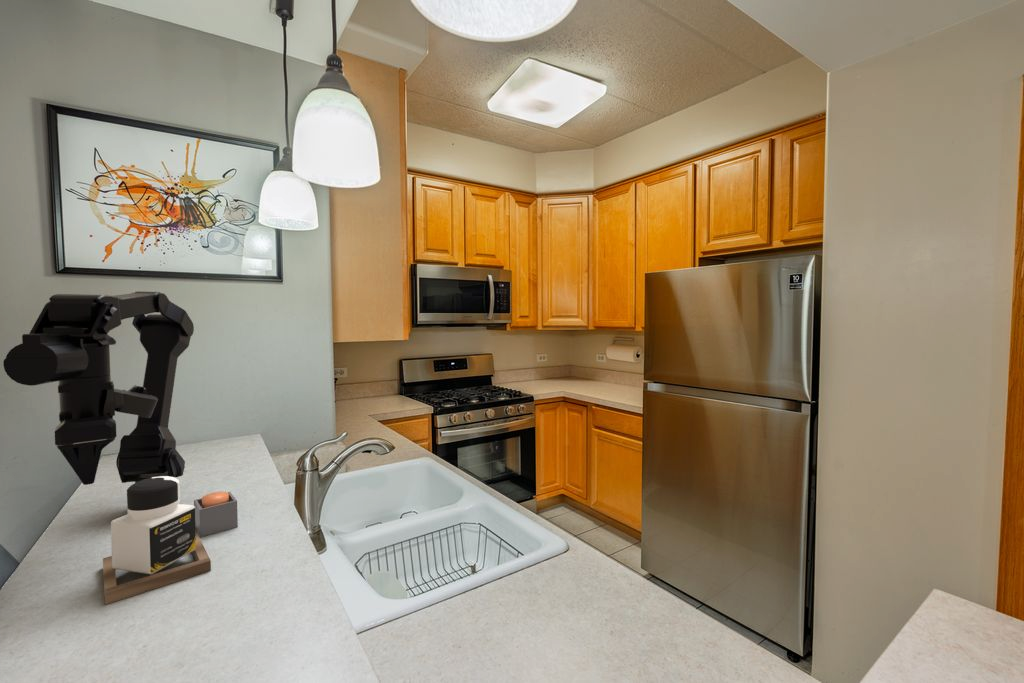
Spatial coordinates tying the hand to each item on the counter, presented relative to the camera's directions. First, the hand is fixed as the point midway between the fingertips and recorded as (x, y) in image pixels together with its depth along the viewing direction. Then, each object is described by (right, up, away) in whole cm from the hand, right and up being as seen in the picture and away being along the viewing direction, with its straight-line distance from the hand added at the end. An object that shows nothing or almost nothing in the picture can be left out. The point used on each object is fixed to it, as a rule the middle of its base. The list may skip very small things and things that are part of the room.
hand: (89, 475), depth 68 cm
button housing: (+12, -13, +11) cm, 21 cm away
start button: (+12, -9, +11) cm, 19 cm away
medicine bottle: (+12, -12, -2) cm, 17 cm away
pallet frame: (+13, -13, -2) cm, 18 cm away
